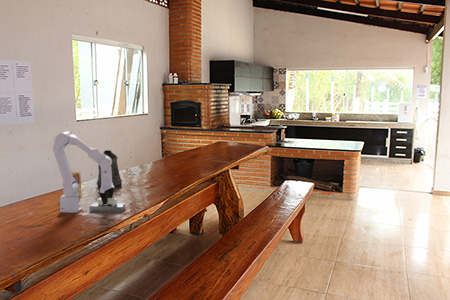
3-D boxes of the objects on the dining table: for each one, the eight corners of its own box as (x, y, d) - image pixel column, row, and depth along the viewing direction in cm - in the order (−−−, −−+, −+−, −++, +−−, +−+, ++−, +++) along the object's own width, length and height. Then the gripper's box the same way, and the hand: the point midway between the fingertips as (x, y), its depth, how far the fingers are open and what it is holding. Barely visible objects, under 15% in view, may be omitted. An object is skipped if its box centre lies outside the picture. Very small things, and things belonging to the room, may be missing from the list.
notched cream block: (98, 210, 224) (97, 199, 223) (100, 208, 227) (99, 197, 226) (115, 211, 223) (115, 199, 222) (117, 209, 226) (117, 198, 225)
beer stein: (121, 182, 285) (120, 148, 281) (123, 189, 267) (122, 152, 263) (96, 184, 280) (95, 149, 276) (97, 191, 262) (95, 154, 258)
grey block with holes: (89, 211, 222) (89, 206, 222) (94, 207, 229) (94, 202, 229) (121, 212, 221) (121, 207, 221) (125, 208, 228) (125, 203, 227)
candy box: (81, 194, 254) (80, 171, 252) (80, 196, 250) (78, 172, 248) (67, 195, 253) (65, 171, 251) (65, 197, 249) (63, 173, 247)
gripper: (108, 181, 215) (109, 206, 217) (117, 175, 229) (118, 198, 231) (96, 181, 215) (97, 205, 217) (105, 175, 229) (106, 198, 232)
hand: (107, 202), depth 224 cm, fingers open, 7 cm apart
